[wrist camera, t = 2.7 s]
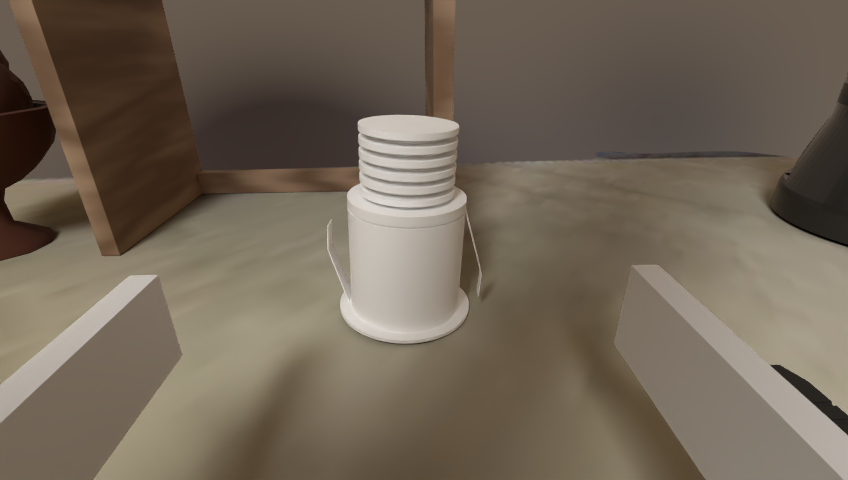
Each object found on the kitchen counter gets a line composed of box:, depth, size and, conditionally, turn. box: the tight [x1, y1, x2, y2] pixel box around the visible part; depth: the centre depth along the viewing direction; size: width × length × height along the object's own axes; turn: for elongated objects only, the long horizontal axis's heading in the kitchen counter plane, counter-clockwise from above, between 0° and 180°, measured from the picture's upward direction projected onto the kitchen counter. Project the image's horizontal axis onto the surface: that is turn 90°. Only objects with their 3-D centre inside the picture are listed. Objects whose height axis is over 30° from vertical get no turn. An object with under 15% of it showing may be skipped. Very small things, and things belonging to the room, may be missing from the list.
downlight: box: [327, 115, 482, 344], centre depth 22 cm, size 8×7×10 cm
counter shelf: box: [9, 0, 455, 256], centre depth 32 cm, size 24×14×22 cm, turn 92°
